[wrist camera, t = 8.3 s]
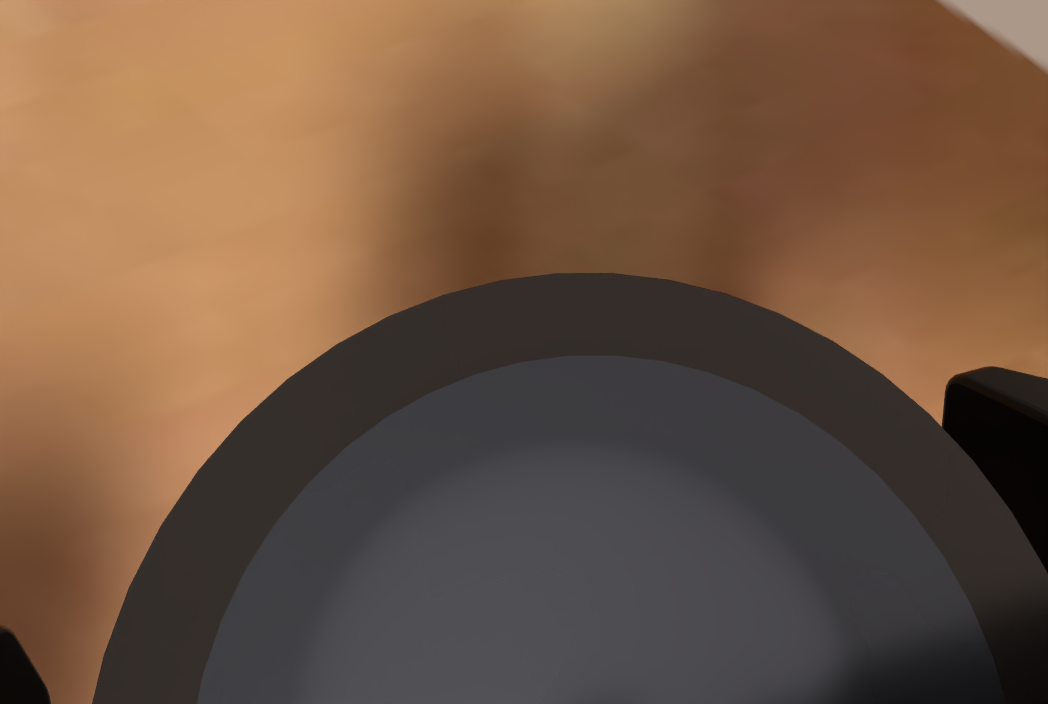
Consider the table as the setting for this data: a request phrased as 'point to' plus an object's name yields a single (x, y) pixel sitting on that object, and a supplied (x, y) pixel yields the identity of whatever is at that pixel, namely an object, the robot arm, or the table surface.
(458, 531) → the lens
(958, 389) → the robot arm
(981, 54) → the table surface
